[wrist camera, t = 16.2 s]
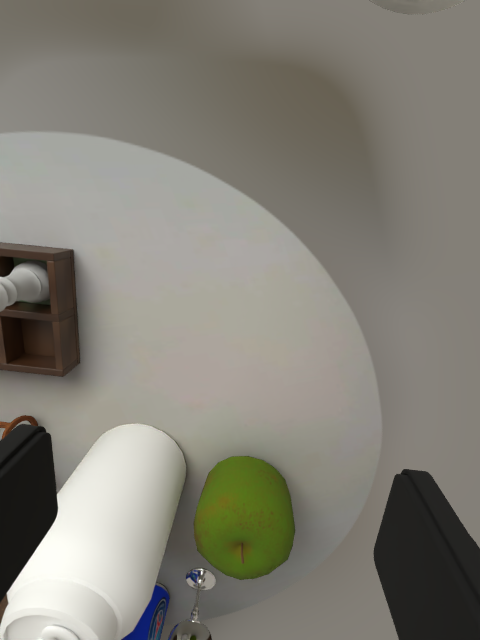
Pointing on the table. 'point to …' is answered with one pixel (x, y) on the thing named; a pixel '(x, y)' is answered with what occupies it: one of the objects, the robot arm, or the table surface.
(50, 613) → the can
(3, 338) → the rack
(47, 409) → the table surface
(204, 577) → the wineglass
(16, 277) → the rook chess piece
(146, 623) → the beverage can
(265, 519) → the apple
